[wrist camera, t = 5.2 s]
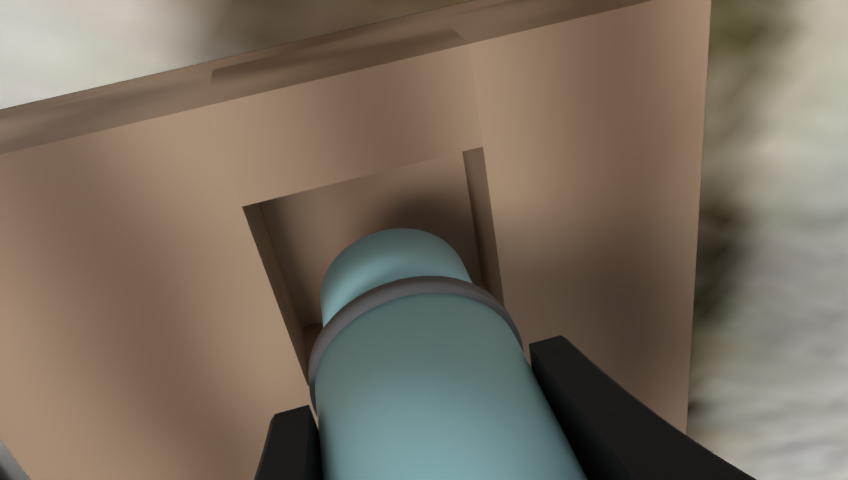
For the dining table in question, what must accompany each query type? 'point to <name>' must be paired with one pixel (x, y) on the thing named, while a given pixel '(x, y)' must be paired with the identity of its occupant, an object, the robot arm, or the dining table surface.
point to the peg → (425, 373)
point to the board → (341, 219)
